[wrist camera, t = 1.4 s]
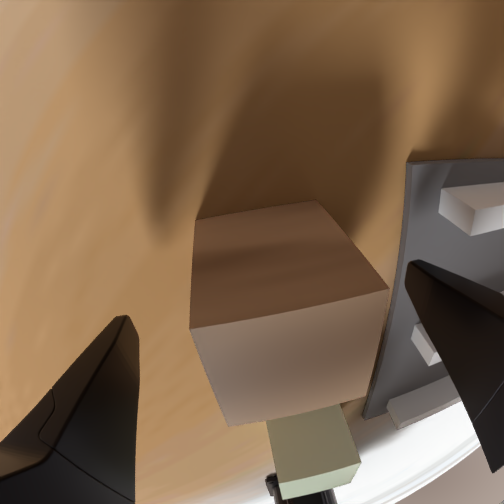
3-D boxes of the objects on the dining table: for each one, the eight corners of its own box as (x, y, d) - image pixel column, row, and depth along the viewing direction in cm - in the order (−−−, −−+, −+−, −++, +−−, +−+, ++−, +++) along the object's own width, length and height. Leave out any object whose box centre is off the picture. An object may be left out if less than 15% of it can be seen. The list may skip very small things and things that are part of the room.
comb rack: (507, 350, 19) (520, 368, 17) (362, 415, 18) (373, 443, 16) (571, 160, 10) (597, 174, 8) (406, 162, 10) (448, 184, 8)
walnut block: (318, 294, 12) (365, 395, 8) (218, 313, 12) (228, 426, 8) (315, 199, 10) (389, 288, 6) (195, 219, 10) (189, 329, 6)
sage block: (328, 418, 18) (350, 482, 14) (268, 432, 18) (282, 499, 13) (333, 386, 16) (361, 462, 12) (262, 402, 16) (278, 483, 11)
